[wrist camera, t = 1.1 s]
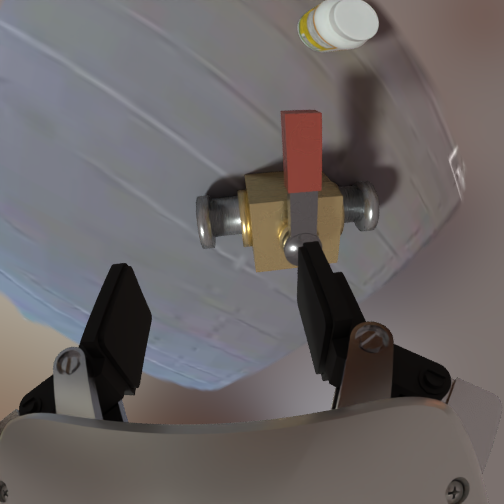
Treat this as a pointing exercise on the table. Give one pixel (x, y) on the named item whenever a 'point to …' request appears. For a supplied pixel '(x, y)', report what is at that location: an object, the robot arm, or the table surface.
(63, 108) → the table surface
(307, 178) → the lever
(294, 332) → the table surface
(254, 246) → the valve
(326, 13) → the supplement bottle
